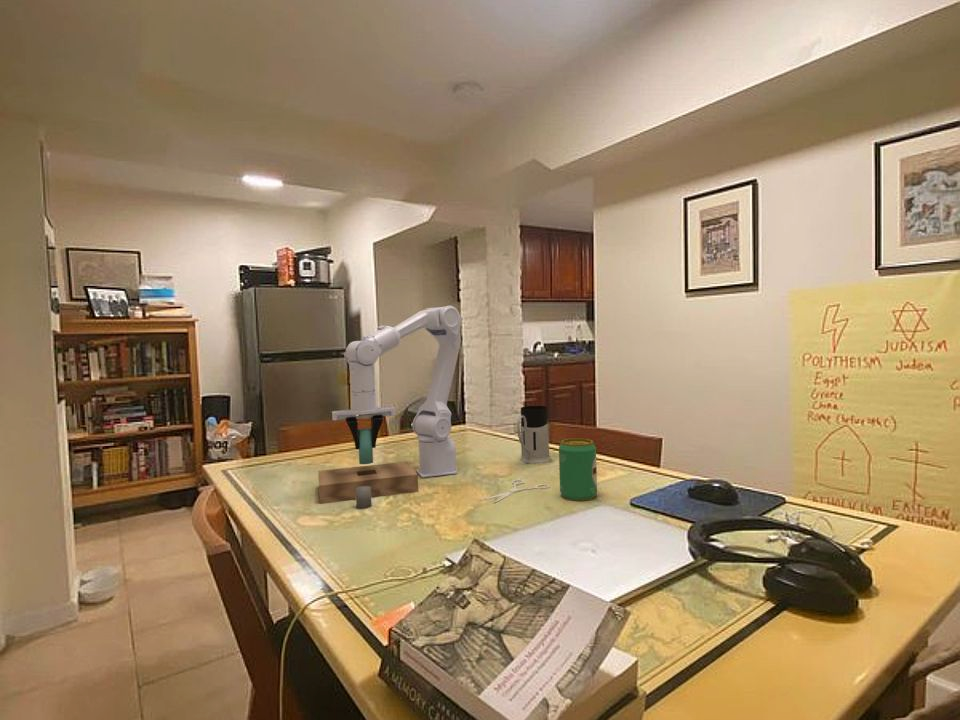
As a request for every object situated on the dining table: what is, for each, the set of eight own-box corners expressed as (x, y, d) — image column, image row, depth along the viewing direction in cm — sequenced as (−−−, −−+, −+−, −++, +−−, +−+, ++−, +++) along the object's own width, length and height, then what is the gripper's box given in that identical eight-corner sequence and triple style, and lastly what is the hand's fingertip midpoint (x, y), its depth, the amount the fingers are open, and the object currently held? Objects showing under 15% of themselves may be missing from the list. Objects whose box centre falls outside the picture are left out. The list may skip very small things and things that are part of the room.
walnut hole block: (407, 476, 136) (407, 461, 136) (418, 491, 123) (417, 474, 123) (318, 487, 130) (318, 470, 129) (319, 503, 116) (319, 485, 116)
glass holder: (556, 458, 152) (554, 406, 151) (534, 469, 140) (532, 413, 139) (528, 455, 156) (527, 404, 156) (505, 466, 144) (503, 411, 144)
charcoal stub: (370, 503, 115) (370, 485, 115) (372, 507, 112) (371, 489, 112) (355, 505, 114) (355, 487, 114) (357, 509, 111) (356, 491, 111)
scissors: (555, 483, 125) (504, 505, 109) (555, 486, 125) (504, 508, 109) (518, 477, 132) (466, 496, 116) (519, 480, 132) (466, 500, 116)
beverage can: (597, 502, 111) (596, 445, 110) (559, 501, 112) (557, 445, 112) (596, 490, 119) (595, 438, 118) (561, 490, 120) (559, 437, 120)
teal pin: (375, 461, 127) (373, 428, 127) (369, 464, 124) (368, 430, 123) (362, 461, 128) (361, 428, 127) (357, 464, 124) (355, 430, 124)
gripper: (391, 387, 131) (393, 442, 132) (330, 391, 127) (333, 447, 127) (395, 390, 125) (397, 447, 125) (331, 394, 120) (334, 453, 121)
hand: (365, 447), depth 126 cm, fingers closed on teal pin, 3 cm apart
